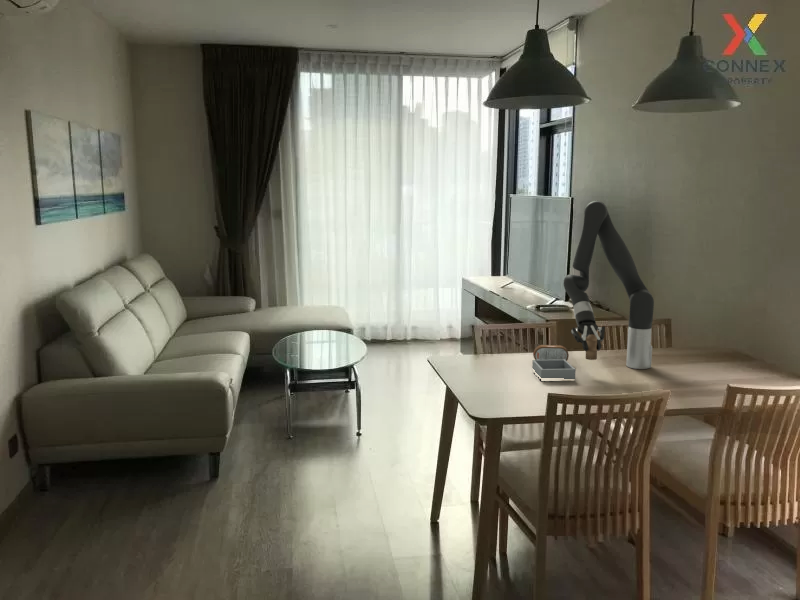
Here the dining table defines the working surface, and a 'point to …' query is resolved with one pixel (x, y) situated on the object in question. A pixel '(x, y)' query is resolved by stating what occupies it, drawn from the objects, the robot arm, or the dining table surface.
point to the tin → (550, 352)
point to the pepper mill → (591, 347)
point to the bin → (553, 369)
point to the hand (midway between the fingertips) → (593, 349)
